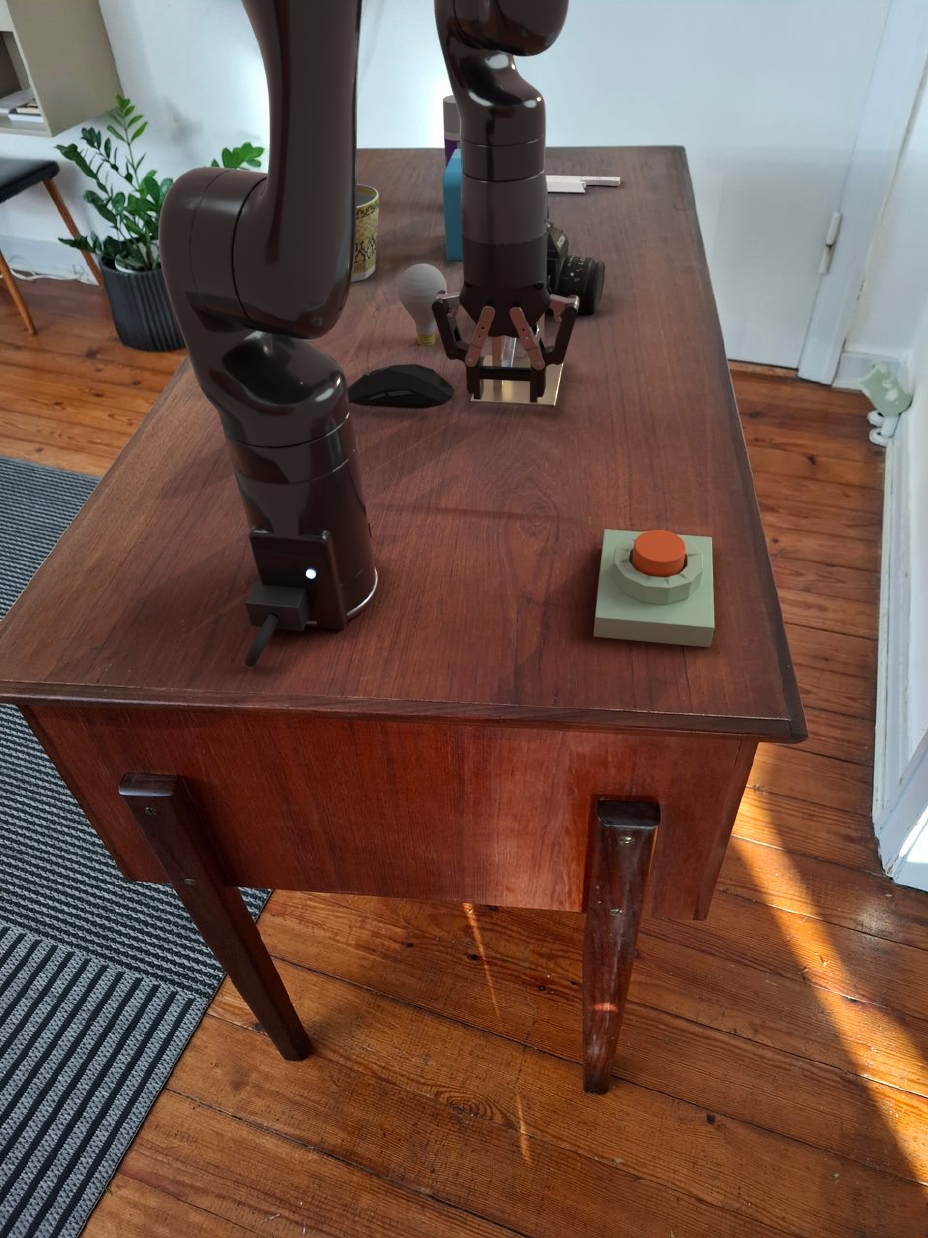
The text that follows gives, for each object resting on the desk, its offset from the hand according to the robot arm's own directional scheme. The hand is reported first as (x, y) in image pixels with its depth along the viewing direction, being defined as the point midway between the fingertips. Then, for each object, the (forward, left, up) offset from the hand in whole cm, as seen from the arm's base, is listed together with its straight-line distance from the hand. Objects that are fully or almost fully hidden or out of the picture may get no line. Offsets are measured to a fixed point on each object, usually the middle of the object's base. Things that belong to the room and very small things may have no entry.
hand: (506, 396), depth 89 cm
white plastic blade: (+72, 0, -4) cm, 72 cm away
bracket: (+9, 0, -4) cm, 10 cm away
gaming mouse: (+5, +14, -4) cm, 16 cm away
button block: (-23, -15, -4) cm, 28 cm away
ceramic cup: (+39, +28, -4) cm, 48 cm away
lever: (+5, 0, +4) cm, 7 cm away
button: (-23, -15, -1) cm, 28 cm away
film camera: (+28, -2, -4) cm, 28 cm away
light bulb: (+17, +12, -4) cm, 21 cm away
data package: (+46, +12, -4) cm, 48 cm away
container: (+63, +16, -4) cm, 65 cm away
